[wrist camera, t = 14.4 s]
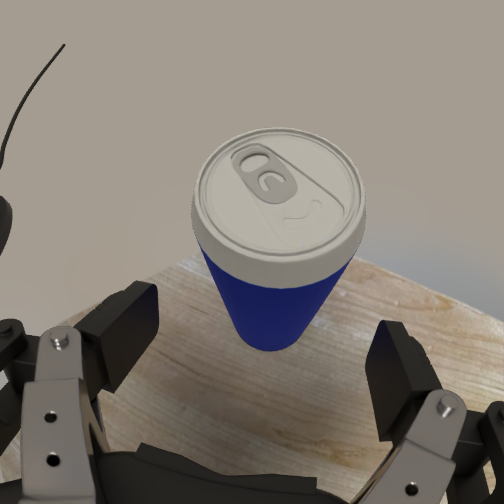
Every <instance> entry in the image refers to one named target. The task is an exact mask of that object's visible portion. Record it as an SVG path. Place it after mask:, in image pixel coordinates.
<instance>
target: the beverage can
mask: <svg viewBox="0 0 504 504" xmlns="http://www.w3.org/2000/svg"><path fill="white" fill-rule="evenodd" d="M191 218H192V226H193V230H194V233H195V236H196V239H197V241H198V243H199V246H200V248H201V251H202V253H203V255H204V258H205V260H206V263H207V265H208V267H209V270H210V272H211V274H212V276H213V279H214V281H215V283H216V286H217V288H218V290H219V292H220V295H221V297H222V299H223V301H224V304H225V306H226V308H227V310H228V313H229V315H230V317H231V319H232V321H233V324H234V326H235V328H236V330H237V332H238V334H239V335H240V337H241V338H242V339H243V340H244V341H245V342H246V343H247V344H249V345H250V346H252V347H254V348H256V349H259V350H263V351H277V350H282V349H284V348H287V347H288V346H290V345H292V344H293V343H294V342H295V341H297V339H298V338H299V337H300V336H301V334H302V333H303V332H304V330H305V329H306V327H307V326H308V324H309V323H310V322H311V320H312V319H313V317H314V316H315V314H316V313H317V311H318V310H319V308H320V307H321V305H322V304H323V302H324V301H325V299H326V298H327V296H328V295H329V293H330V292H331V290H332V289H333V287H334V286H335V284H336V283H337V281H338V280H339V278H340V276H341V275H342V273H343V272H344V270H345V269H346V267H347V265H348V264H349V262H350V261H351V259H352V257H353V256H354V254H355V252H356V251H357V249H358V247H359V244H360V243H361V240H362V237H363V233H364V229H365V219H366V211H365V190H364V184H363V181H362V178H361V175H360V173H359V171H358V169H357V167H356V166H355V164H354V163H353V162H352V160H351V159H350V158H349V156H347V154H345V152H343V151H342V150H341V149H340V148H339V147H337V146H336V145H335V144H333V143H332V142H330V141H328V140H326V139H325V138H323V137H321V136H318V135H316V134H313V133H310V132H307V131H304V130H299V129H293V128H283V127H274V128H263V129H256V130H253V131H249V132H246V133H243V134H240V135H238V136H235V137H233V138H232V139H230V140H228V141H226V142H225V143H223V144H222V145H221V146H219V147H218V148H217V149H216V150H215V151H214V152H212V154H211V155H209V157H208V158H207V159H206V161H205V162H204V164H203V165H202V167H201V169H200V171H199V173H198V176H197V179H196V183H195V190H194V195H193V201H192V210H191Z"/></svg>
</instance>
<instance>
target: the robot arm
mask: <svg viewBox="0 0 504 504" xmlns="http://www.w3.org/2000/svg"><path fill="white" fill-rule="evenodd" d="M64 47H65V44H63V45H62V46H61V48H60V49H59V50H58V52H57V53H56V54H55V55H54V56H53V58H52V59H51V60H50V61H49V63H48V64H47V65H46V66H45V68H44V69H43V70H42V71H41V73H40V74H39V75H38V77H37V78H36V79H35V81H34V82H33V83H32V85H31V87H30V88H29V89H28V91H27V92H26V94H25V96H24V97H23V99H22V101H21V102H20V104H19V106H18V108H17V110H16V112H15V114H14V116H13V118H12V120H11V122H10V125H9V127H8V130H7V133H6V135H5V138H4V140H3V143H2V146H1V150H0V169H1V167H2V164H3V159H4V152H5V147H6V144H7V141H8V139H9V136H10V133H11V130H12V128H13V125H14V122H15V120H16V118H17V116H18V114H19V112H20V110H21V108H22V106H23V104H24V102H25V101H26V99H27V97H28V96H29V94H30V92H31V91H32V89H33V88H34V86H35V85H36V83H37V82H38V80H39V79H40V78H41V76H42V75H43V74H44V72H45V71H46V70H47V68H48V67H49V66H50V65H51V63H52V62H53V61H54V60H55V58H56V57H57V56H58V54H59V53H60V52H61V51H62V49H63V48H64ZM158 328H159V309H158V290H157V286H156V285H155V284H151V283H146V282H142V281H134V282H133V283H132V284H131V285H130V286H129V287H127V288H126V289H125V290H124V291H119V292H117V293H114V294H112V295H110V296H109V297H107V298H106V299H105V300H104V301H103V302H102V304H99V305H98V306H97V307H96V308H95V310H94V309H93V310H92V311H91V312H90V313H89V314H88V315H86V316H85V317H84V318H83V319H82V320H81V321H80V322H78V323H77V324H76V325H75V326H74V327H70V326H57V327H53V328H51V329H49V330H47V331H46V332H44V333H43V334H42V335H41V337H39V336H32V335H26V334H25V330H24V327H23V324H22V322H20V321H19V320H17V319H4V320H1V321H0V372H1V371H2V370H4V372H5V374H6V377H7V379H8V381H9V382H8V383H7V384H6V385H5V386H4V387H3V388H2V389H1V390H0V456H1V455H2V453H3V452H4V451H5V449H6V448H7V446H8V445H9V444H10V442H11V441H12V439H13V438H14V437H15V435H16V434H17V433H18V431H19V430H20V429H21V474H22V478H21V479H18V480H13V481H9V482H5V483H0V504H439V503H440V501H441V499H442V497H443V495H444V493H445V491H446V494H447V500H448V504H504V402H503V401H495V402H493V403H491V404H490V405H489V407H488V408H487V410H486V411H485V412H484V413H481V412H476V411H471V410H467V408H466V405H465V403H464V401H463V400H462V399H461V398H460V397H459V396H458V395H457V394H455V393H453V392H451V391H449V390H445V389H443V388H442V386H441V383H440V381H439V379H438V377H437V375H436V373H435V371H434V369H433V367H432V365H431V364H430V361H429V359H428V357H426V353H425V351H424V349H423V347H422V345H421V344H420V343H419V342H418V341H417V340H416V339H415V338H413V337H412V336H409V335H408V333H407V331H406V329H405V327H404V325H403V323H402V322H397V321H387V320H381V321H380V323H379V325H378V327H377V330H376V333H375V336H374V338H373V341H372V344H371V347H370V349H369V352H368V354H367V358H366V363H365V372H366V376H367V381H368V385H369V390H370V394H371V399H372V404H373V409H374V414H375V419H376V425H377V430H378V436H379V441H380V442H383V441H392V443H393V447H392V449H391V450H390V451H389V453H388V454H387V455H386V457H385V458H384V460H383V461H382V463H381V464H380V465H379V467H378V468H377V470H376V471H375V472H374V474H373V475H372V476H371V478H370V479H369V480H368V481H367V483H366V484H365V485H364V487H363V488H362V489H361V490H360V491H359V493H358V494H357V495H356V496H355V497H354V498H353V499H352V500H351V501H350V503H348V502H346V501H344V500H343V499H341V498H339V497H337V496H335V495H333V494H331V493H329V492H326V491H323V490H320V489H316V486H317V477H302V476H290V475H280V474H261V475H237V476H227V475H222V474H219V473H217V472H214V471H212V470H210V469H208V468H206V467H204V466H202V465H200V464H198V463H196V462H194V461H192V460H190V459H188V458H186V457H184V456H182V455H179V454H176V453H172V452H169V451H166V450H162V449H159V448H156V447H153V446H150V445H147V444H145V443H142V442H141V444H140V446H139V448H138V449H137V451H136V452H127V451H117V452H111V450H110V448H109V445H108V441H107V437H106V433H105V428H104V423H103V418H102V412H101V407H100V401H99V397H98V393H99V392H100V390H101V389H103V390H106V391H108V392H111V393H115V391H116V390H117V388H118V387H119V386H120V384H121V383H122V381H123V380H124V379H125V377H126V376H127V375H128V373H129V372H130V370H131V369H132V368H133V366H134V365H135V364H136V362H137V361H138V359H139V358H140V357H141V355H142V354H143V353H144V351H145V350H146V349H147V347H148V346H149V344H150V343H151V342H152V340H153V339H154V338H155V336H156V334H157V332H158ZM489 461H491V464H492V468H493V471H494V474H495V478H496V486H495V489H494V491H493V492H492V494H491V495H490V493H489V489H488V485H487V481H486V477H485V474H484V470H483V466H485V465H486V464H487V463H488V462H489Z"/></svg>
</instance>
